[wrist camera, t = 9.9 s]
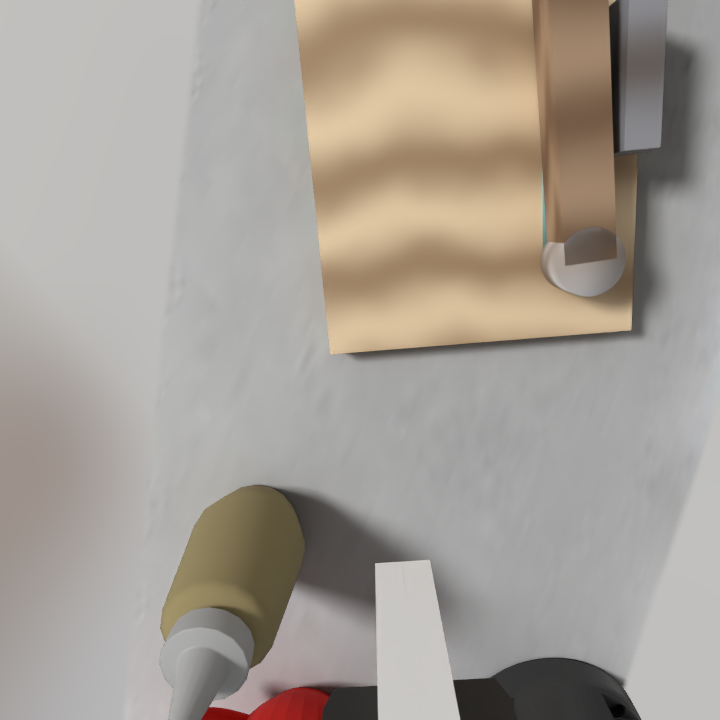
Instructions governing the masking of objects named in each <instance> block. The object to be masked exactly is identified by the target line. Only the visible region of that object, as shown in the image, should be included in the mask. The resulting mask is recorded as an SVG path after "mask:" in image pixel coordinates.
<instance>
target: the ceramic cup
mask: <svg viewBox="0 0 720 720" xmlns="http://www.w3.org/2000/svg"><path fill="white" fill-rule="evenodd" d="M329 697H330V695H328V694H326V693H325V692H323V691H320V690H317V689H314V688H308V687H299V688H293V689H290V690H287V691H284V692H283V693H281V694H279V695H277V696H275V697H274V698H272V699H270V700H268V701H266V702H265V703H263V704H262V705H261V706H259V707H258V708H257V709H256V710H255V711H253V712H252V713H251V714H250V715H248V714H245V713H241V712H237V711H234V710H229V709H224V708H216V707H209V708H208V709H207V711H206V713H205V714H204V716H203V717H202V719H201V720H322V714H323V708H324V706H325V704H326V703H327V701H328V699H329Z"/></svg>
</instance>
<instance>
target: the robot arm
mask: <svg viewBox="0 0 720 720" xmlns="http://www.w3.org/2000/svg"><path fill="white" fill-rule="evenodd" d="M375 588H376V638H377V686H368V687H349V688H334V690H333V692H332V693H331V695H330V697H329V699H328V701H327V703H326V704H325V706H324V708H323V714H322V720H641V718H640V716H639V714H638V712H637V711H636V709H635V707H634V705H633V703H632V701H631V700H630V698H629V696H628V695H627V693H626V691H625V690H624V689H623V687H622V686H621V685H620V684H619V683H618V682H617V681H616V680H615V679H613V678H612V677H611V676H610V675H608V674H607V673H605V672H603V671H602V670H600V669H598V668H596V667H594V666H591V665H588V664H586V663H582V662H578V661H574V660H568V659H554V658H552V659H538V660H532V661H527V662H523V663H520V664H517V665H514V666H511V667H509V668H507V669H505V670H503V671H501V672H499V673H497V674H496V675H494V676H492V677H491V678H485V679H467V680H453V679H452V674H451V668H450V663H449V658H448V652H447V647H446V642H445V637H444V631H443V626H442V621H441V616H440V610H439V605H438V600H437V595H436V589H435V584H434V579H433V574H432V568H431V563H430V560H420V561H403V562H387V563H375Z"/></svg>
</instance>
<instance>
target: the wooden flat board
mask: <svg viewBox="0 0 720 720" xmlns="http://www.w3.org/2000/svg"><path fill="white" fill-rule="evenodd" d="M294 2H295V12H296V22H297V32H298V41H299V51H300V61H301V71H302V81H303V90H304V100H305V110H306V120H307V130H308V140H309V149H310V159H311V169H312V179H313V189H314V198H315V208H316V218H317V228H318V238H319V248H320V257H321V267H322V277H323V287H324V297H325V306H326V316H327V326H328V336H329V346H330V354H341V353H353V352H366V351H378V350H391V349H403V348H416V347H428V346H441V345H453V344H466V343H478V342H491V341H503V340H516V339H528V338H541V337H553V336H566V335H579V334H591V333H604V332H616V331H629V330H631V325H632V299H633V273H634V246H635V220H636V194H637V168H638V153H641V152H645V151H649V150H653V149H656V148H660V147H661V130H662V109H663V88H664V67H665V46H666V25H667V4H668V0H609V27H610V58H611V88H612V118H613V149H614V179H615V210H616V236H617V237H618V238H619V239H620V240H621V242H622V244H623V246H624V249H625V254H626V263H625V268H624V271H623V273H622V275H621V277H620V279H619V280H618V281H617V283H616V284H615V285H614V286H613V287H612V288H610V289H609V290H608V291H606V292H604V293H602V294H599V295H596V296H589V297H587V296H579V295H576V294H573V293H570V292H567V291H564V290H561V289H558V288H556V287H554V286H553V285H551V284H550V283H549V282H548V281H547V280H546V278H545V277H544V275H543V273H542V269H541V254H542V250H543V248H544V246H545V244H546V243H547V233H546V217H545V202H544V186H543V170H542V154H541V139H540V123H539V107H538V91H537V76H536V60H535V44H534V28H533V13H532V0H294Z"/></svg>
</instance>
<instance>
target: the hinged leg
mask: <svg viewBox="0 0 720 720" xmlns="http://www.w3.org/2000/svg"><path fill="white" fill-rule="evenodd" d="M532 13H533V28H534V44H535V60H536V76H537V91H538V107H539V123H540V139H541V154H542V170H543V186H544V202H545V217H546V233H547V243H546V244H545V246H544V248H543V250H542V254H541V269H542V273H543V275H544V277H545V278H546V280H547V281H548V282H549V283H550V284H551V285H553V286H554V287H556V288H558V289H561V290H564V291H567V292H570V293H573V294H576V295H579V296H587V297H589V296H596V295H599V294H602V293H604V292H606V291H608V290H609V289H610V288H612V287H613V286H614V285H615V284H616V283H617V281H618V280H619V279H620V277H621V275H622V273H623V271H624V268H625V263H626V254H625V249H624V246H623V244H622V242H621V240H620V239H619V238H618V237H617V236H616V210H615V179H614V149H613V118H612V88H611V58H610V27H609V0H532Z"/></svg>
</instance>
